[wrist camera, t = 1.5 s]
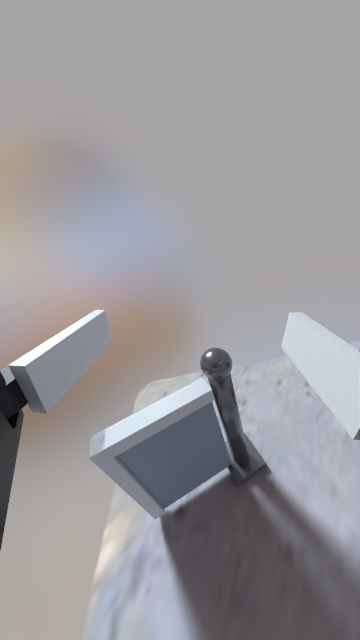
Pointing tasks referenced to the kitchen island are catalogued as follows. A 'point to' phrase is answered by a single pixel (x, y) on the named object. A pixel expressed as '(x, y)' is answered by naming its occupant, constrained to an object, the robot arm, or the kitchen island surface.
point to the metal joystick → (230, 416)
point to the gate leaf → (164, 448)
